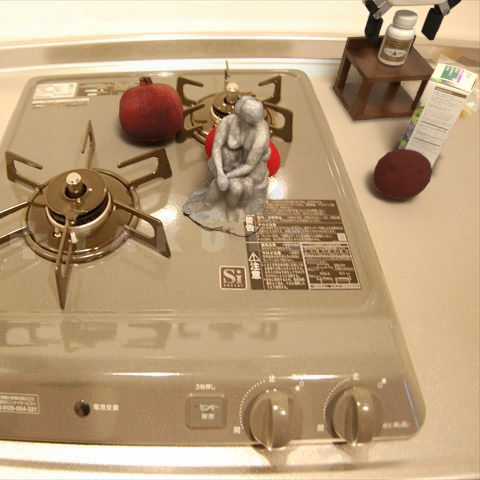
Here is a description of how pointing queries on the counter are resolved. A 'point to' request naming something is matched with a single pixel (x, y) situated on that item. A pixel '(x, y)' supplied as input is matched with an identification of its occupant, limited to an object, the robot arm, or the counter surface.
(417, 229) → the counter surface
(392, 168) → the potato
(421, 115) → the syrup box
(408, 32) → the pill bottle
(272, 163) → the heart
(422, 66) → the rack
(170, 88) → the fruit
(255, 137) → the sculpture
